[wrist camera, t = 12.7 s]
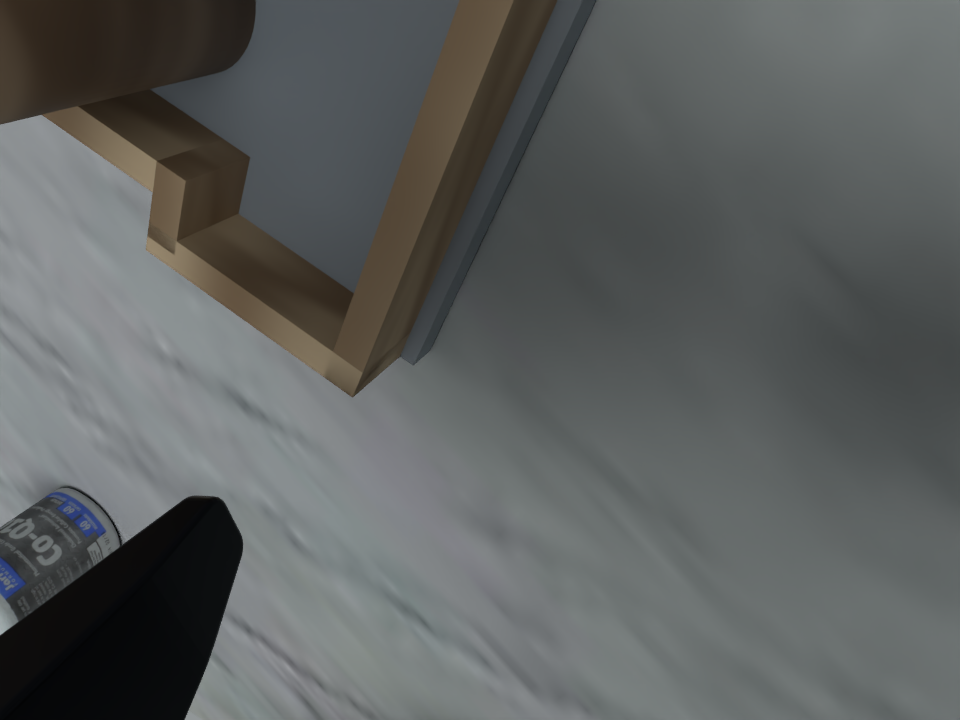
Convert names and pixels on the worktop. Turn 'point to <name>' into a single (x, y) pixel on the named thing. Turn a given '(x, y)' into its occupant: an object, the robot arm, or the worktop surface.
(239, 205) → the keyhole plate
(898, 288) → the worktop surface
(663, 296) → the worktop surface
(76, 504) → the pill bottle
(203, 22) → the walnut peg
